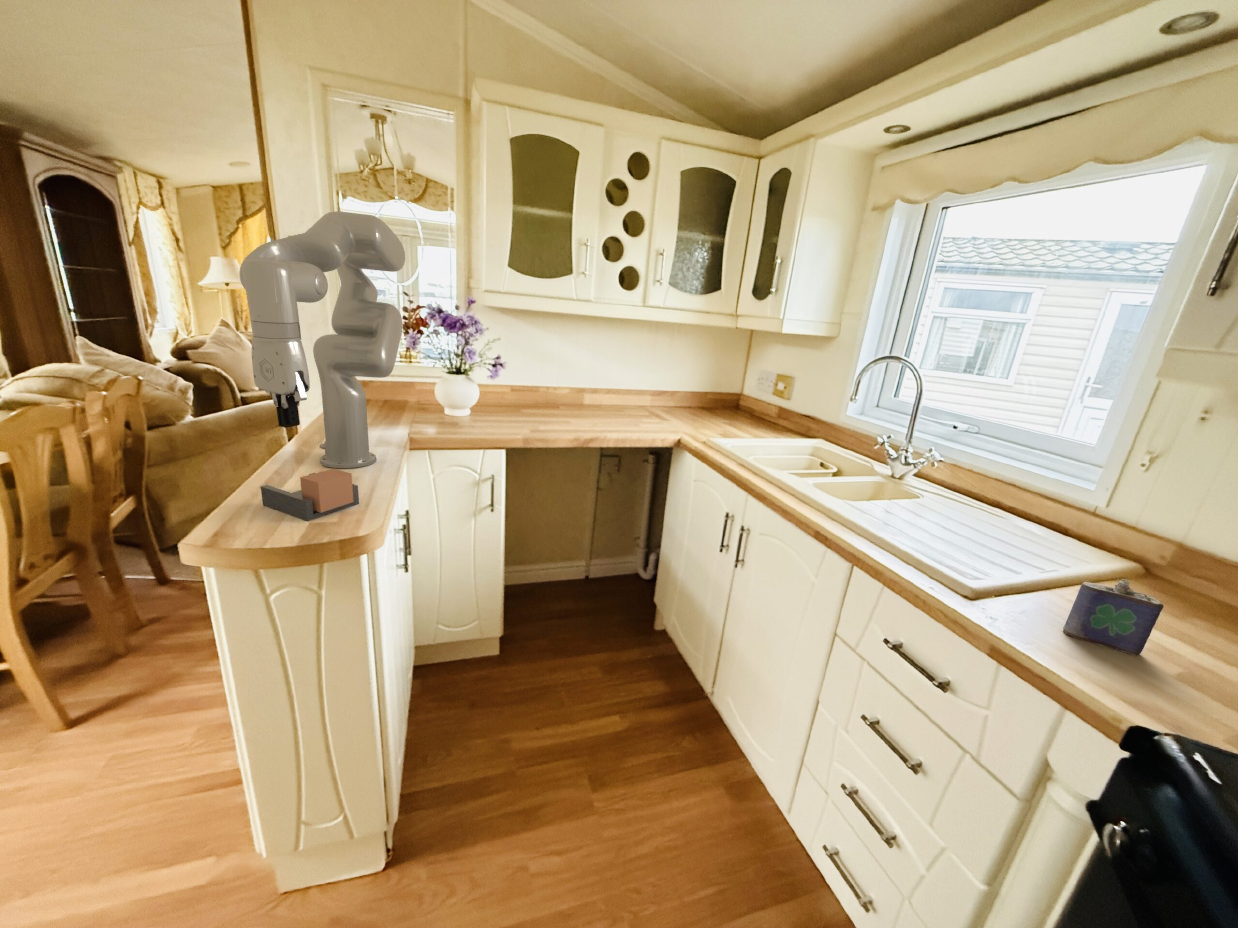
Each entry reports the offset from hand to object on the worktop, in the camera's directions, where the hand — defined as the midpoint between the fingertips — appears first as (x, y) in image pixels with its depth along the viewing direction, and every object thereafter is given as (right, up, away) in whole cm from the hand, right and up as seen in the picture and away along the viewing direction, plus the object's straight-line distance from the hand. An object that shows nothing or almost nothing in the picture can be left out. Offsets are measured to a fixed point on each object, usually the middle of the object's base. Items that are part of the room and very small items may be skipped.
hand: (289, 425), depth 98 cm
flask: (+140, -36, -21) cm, 147 cm away
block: (+8, -16, -1) cm, 18 cm away
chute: (+4, -16, +1) cm, 16 cm away
